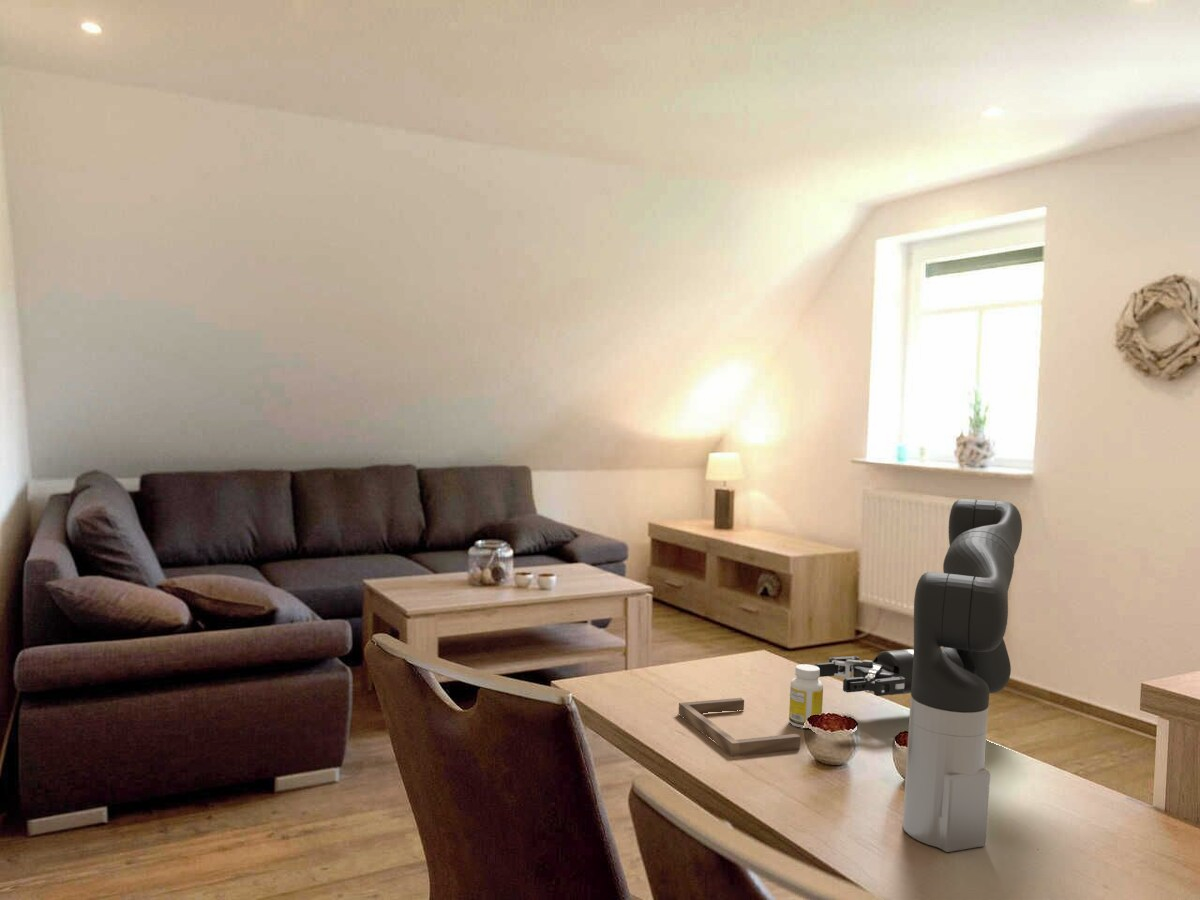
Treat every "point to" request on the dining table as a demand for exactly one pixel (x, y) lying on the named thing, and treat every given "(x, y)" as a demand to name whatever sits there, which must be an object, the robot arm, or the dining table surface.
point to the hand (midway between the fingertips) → (829, 677)
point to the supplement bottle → (805, 694)
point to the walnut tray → (725, 741)
